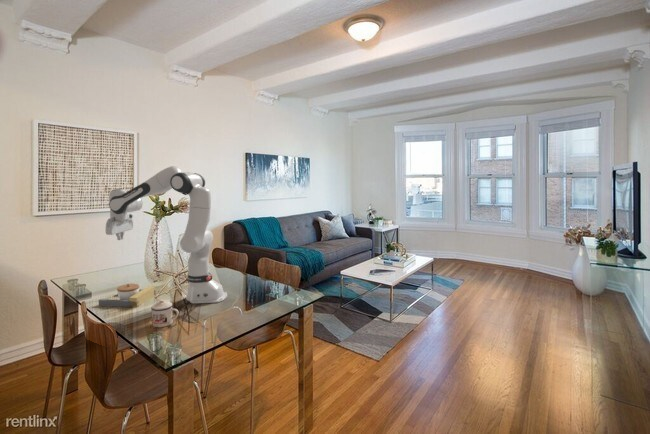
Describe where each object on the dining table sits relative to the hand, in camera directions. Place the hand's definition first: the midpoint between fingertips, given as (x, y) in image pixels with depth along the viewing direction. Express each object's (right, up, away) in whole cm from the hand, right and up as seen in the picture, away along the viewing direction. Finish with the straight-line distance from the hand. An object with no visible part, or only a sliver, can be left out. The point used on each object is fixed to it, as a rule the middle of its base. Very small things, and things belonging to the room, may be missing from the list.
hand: (120, 239), depth 199 cm
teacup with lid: (+46, -38, -39) cm, 71 cm away
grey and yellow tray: (+11, -33, -11) cm, 37 cm away
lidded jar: (+12, -33, -11) cm, 37 cm away
